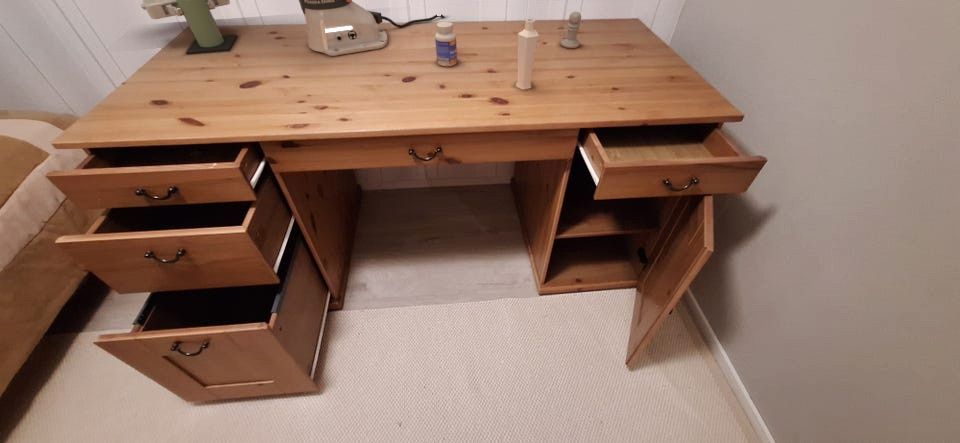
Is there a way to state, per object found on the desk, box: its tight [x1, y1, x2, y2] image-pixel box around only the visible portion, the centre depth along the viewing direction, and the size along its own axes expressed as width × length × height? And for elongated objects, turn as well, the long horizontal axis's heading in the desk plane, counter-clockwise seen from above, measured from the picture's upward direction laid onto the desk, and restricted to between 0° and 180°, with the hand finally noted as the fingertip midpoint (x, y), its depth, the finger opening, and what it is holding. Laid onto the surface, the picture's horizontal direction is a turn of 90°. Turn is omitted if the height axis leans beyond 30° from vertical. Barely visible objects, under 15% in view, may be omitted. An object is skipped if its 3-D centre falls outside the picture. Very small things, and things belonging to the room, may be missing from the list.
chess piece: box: [560, 10, 582, 49], centre depth 107 cm, size 5×5×9 cm
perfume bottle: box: [515, 18, 540, 91], centre depth 87 cm, size 5×4×15 cm
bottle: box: [176, 0, 224, 47], centre depth 102 cm, size 6×6×17 cm
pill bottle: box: [434, 21, 458, 67], centre depth 98 cm, size 5×5×10 cm
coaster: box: [185, 33, 238, 55], centre depth 109 cm, size 11×11×1 cm
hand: (196, 9), depth 101 cm, fingers closed on bottle, 6 cm apart
